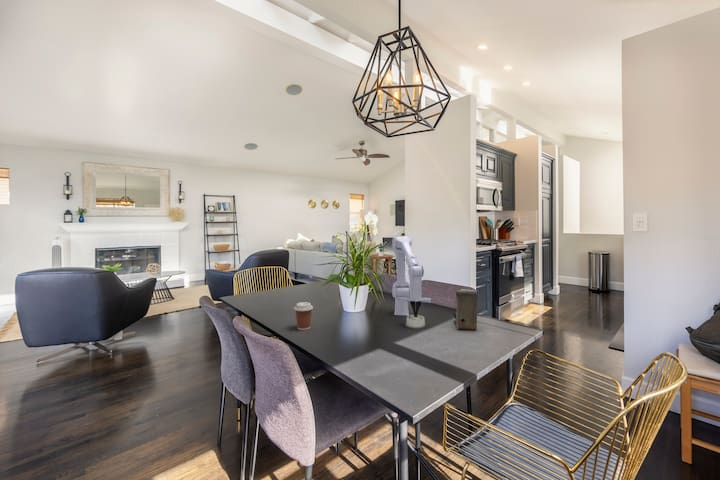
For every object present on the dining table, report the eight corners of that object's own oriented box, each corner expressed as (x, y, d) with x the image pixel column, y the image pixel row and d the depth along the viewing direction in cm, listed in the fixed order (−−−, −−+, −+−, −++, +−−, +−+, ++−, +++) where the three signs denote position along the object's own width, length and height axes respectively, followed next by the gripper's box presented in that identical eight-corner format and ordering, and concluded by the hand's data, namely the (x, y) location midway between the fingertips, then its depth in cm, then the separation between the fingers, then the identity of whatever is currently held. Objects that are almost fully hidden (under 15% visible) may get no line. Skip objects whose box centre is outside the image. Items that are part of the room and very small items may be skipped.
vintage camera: (470, 322, 173) (470, 284, 173) (477, 330, 158) (477, 289, 157) (451, 321, 174) (451, 284, 174) (457, 330, 159) (456, 289, 158)
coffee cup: (308, 323, 169) (308, 300, 169) (316, 328, 162) (315, 304, 161) (291, 326, 165) (291, 303, 164) (298, 332, 157) (298, 307, 156)
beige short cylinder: (410, 322, 169) (410, 314, 169) (420, 323, 168) (420, 314, 168) (410, 325, 164) (410, 317, 164) (421, 326, 163) (421, 317, 163)
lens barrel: (405, 322, 172) (405, 314, 172) (424, 322, 170) (424, 314, 170) (405, 328, 162) (405, 320, 162) (426, 329, 161) (426, 320, 160)
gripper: (401, 290, 162) (401, 318, 163) (431, 291, 160) (430, 319, 161) (401, 287, 169) (401, 313, 170) (429, 288, 167) (429, 314, 168)
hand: (415, 316), depth 166 cm, fingers closed, pressing on beige short cylinder
